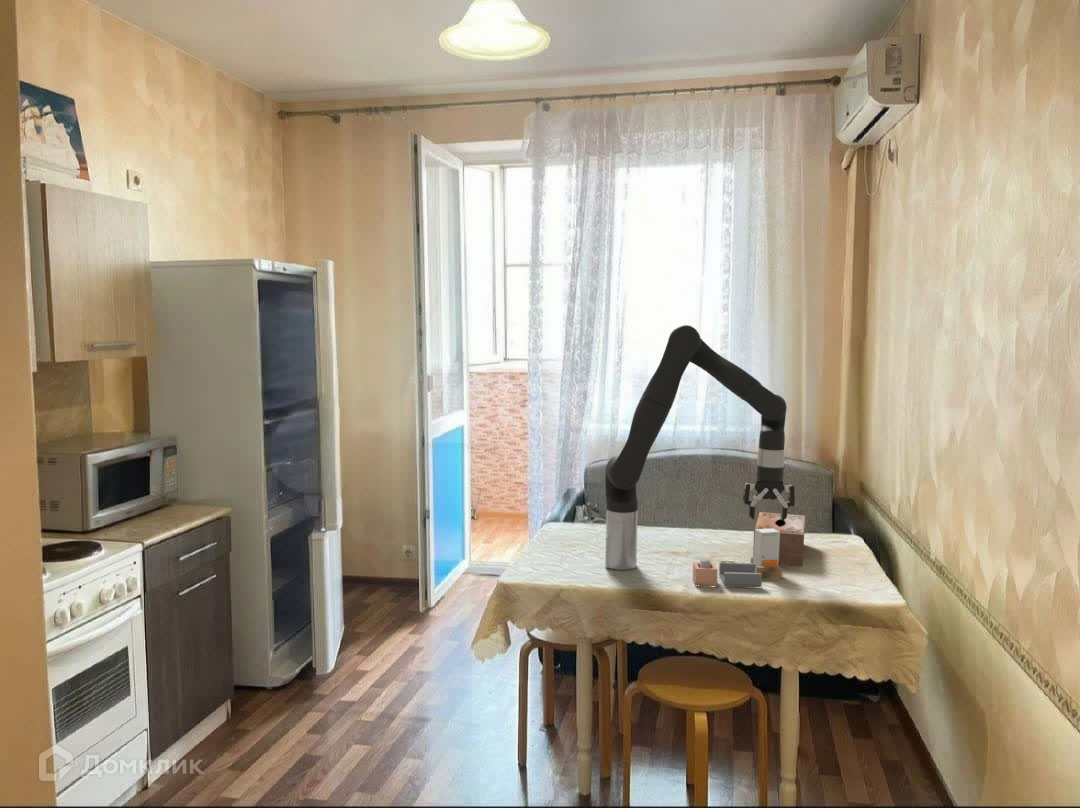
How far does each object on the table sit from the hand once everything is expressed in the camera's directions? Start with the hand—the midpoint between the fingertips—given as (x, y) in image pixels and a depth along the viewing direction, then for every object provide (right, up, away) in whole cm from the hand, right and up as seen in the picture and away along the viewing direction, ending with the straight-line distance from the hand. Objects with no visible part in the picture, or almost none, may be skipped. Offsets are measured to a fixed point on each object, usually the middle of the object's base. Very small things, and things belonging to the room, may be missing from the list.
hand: (767, 519), depth 239 cm
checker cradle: (-10, -17, -6) cm, 20 cm away
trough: (0, -16, +2) cm, 16 cm away
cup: (-20, -17, -8) cm, 27 cm away
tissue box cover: (+10, -14, +23) cm, 29 cm away
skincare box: (0, -15, +2) cm, 16 cm away
